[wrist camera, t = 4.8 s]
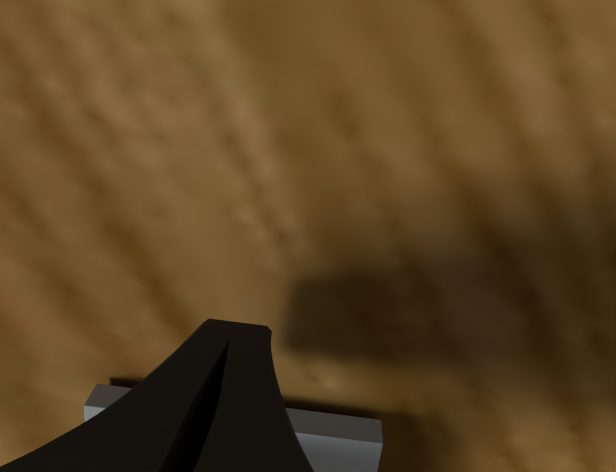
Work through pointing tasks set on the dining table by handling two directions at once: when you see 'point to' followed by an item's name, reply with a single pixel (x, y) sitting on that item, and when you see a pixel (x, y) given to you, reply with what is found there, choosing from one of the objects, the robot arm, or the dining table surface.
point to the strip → (301, 434)
